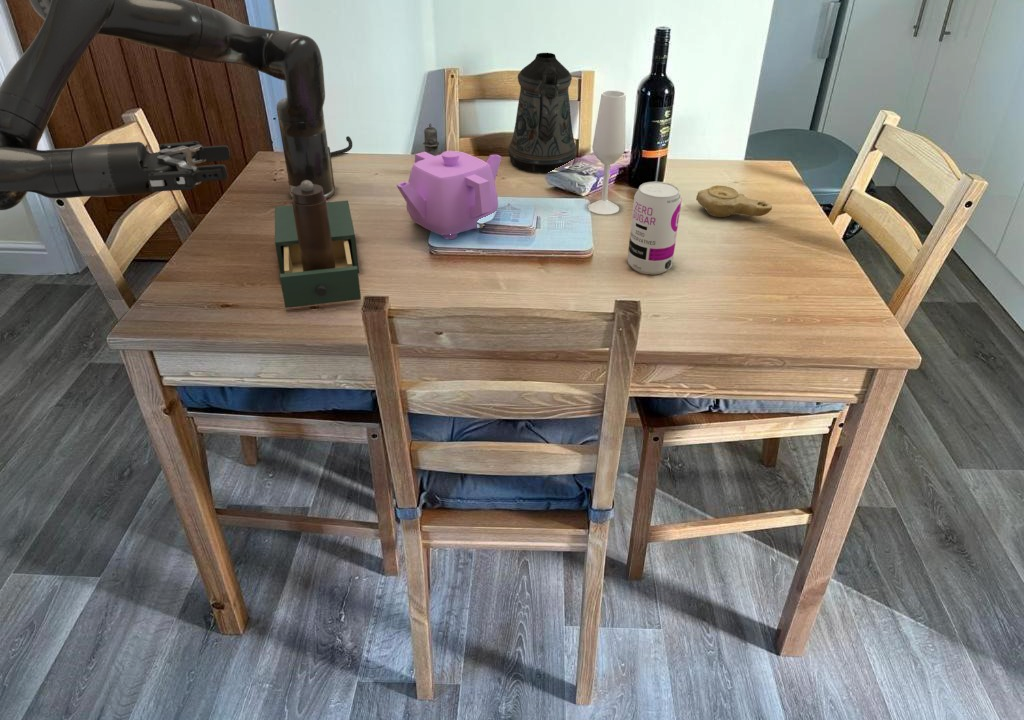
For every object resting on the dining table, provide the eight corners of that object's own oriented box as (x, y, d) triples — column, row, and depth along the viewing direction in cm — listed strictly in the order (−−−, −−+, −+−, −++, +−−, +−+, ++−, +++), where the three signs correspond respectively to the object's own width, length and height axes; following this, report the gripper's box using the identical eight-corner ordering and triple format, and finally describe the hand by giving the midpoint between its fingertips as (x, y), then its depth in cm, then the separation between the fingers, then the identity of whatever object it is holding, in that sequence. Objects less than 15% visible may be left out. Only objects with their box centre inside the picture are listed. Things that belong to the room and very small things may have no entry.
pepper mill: (315, 271, 134) (300, 172, 124) (342, 276, 133) (329, 176, 122) (298, 285, 130) (281, 184, 119) (326, 290, 128) (312, 188, 118)
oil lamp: (770, 225, 157) (775, 202, 154) (701, 224, 157) (705, 202, 154) (756, 204, 165) (761, 182, 163) (691, 204, 165) (694, 182, 162)
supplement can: (674, 259, 144) (685, 183, 135) (667, 279, 137) (678, 201, 129) (632, 252, 146) (640, 177, 137) (623, 271, 139) (631, 194, 131)
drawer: (361, 303, 127) (358, 272, 124) (285, 311, 125) (279, 280, 121) (353, 260, 140) (350, 231, 136) (284, 267, 137) (279, 238, 134)
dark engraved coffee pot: (550, 146, 195) (555, 42, 180) (596, 170, 181) (605, 60, 167) (495, 157, 187) (495, 50, 173) (539, 183, 174) (543, 70, 160)
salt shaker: (441, 180, 175) (439, 128, 168) (416, 178, 176) (413, 126, 169) (448, 171, 180) (446, 120, 173) (424, 169, 180) (421, 118, 174)
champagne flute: (584, 211, 161) (592, 96, 148) (592, 199, 167) (601, 87, 153) (615, 216, 159) (626, 100, 146) (622, 204, 165) (634, 91, 151)
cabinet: (359, 273, 138) (354, 234, 133) (282, 281, 135) (274, 242, 131) (352, 236, 150) (348, 200, 146) (281, 243, 147) (274, 206, 143)
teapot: (400, 244, 148) (394, 169, 139) (411, 206, 163) (407, 136, 154) (499, 246, 148) (499, 171, 139) (501, 208, 162) (501, 138, 154)
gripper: (97, 162, 105) (220, 153, 108) (114, 129, 116) (225, 123, 120) (112, 212, 109) (230, 203, 113) (127, 176, 121) (234, 169, 124)
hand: (228, 161), depth 116 cm, fingers open, 8 cm apart
